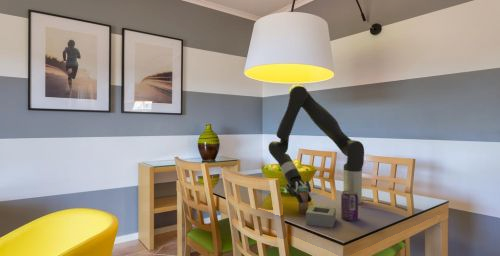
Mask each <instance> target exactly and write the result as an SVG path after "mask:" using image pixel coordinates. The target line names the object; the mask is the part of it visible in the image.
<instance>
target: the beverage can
mask: <svg viewBox="0 0 500 256" xmlns="http://www.w3.org/2000/svg"><path fill="white" fill-rule="evenodd" d="M340 196H341V197H340V201H341V203H340V216H341V218H342V219H344V220H346V221H351V222H353V221H356V220H358V219H359V204H358V196H357V192H355V191H349V190H346V191H344V190H342V193H341V195H340Z"/></svg>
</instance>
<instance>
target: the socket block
mask: <svg viewBox="0 0 500 256" xmlns="http://www.w3.org/2000/svg"><path fill="white" fill-rule="evenodd" d="M336 210H337V208H336V207H331V206H330V207H329V206H321V205H312V204H310V206H308V210H307V211H306V213H305V224H306V225H309V224H311V225H310V226H317V225H318V226H319V227H325V228H331V227H332V229H333V228H334V225H335V222H336V218H337V217H336V216H337V213H336ZM318 226H317V227H318Z"/></svg>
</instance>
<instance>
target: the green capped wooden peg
mask: <svg viewBox="0 0 500 256" xmlns="http://www.w3.org/2000/svg"><path fill="white" fill-rule="evenodd" d="M299 195H300V196H301V198H302V200H303V202H302V203H301V204H300V203H299V202H298V213H300V214H306V211H307V210H308V209H309V202H308V187H307V186H299Z"/></svg>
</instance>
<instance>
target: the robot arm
mask: <svg viewBox="0 0 500 256" xmlns="http://www.w3.org/2000/svg"><path fill="white" fill-rule="evenodd" d="M288 98H289V99H288V102H287V103H288V104H287V107H286V111H285V112H284V115H283V117H282V119H281V120H280V123H279V126H278V127H277V132H276V137H277V138H278V139H280V140H279V141H276V140H275V141H271V142H269V144H268V151H269V153H270V154H269V155H271V156H272V157H273V159H274V160H275V161H276V162H277V163H278V165H279V167H280V168H281V169H280V170H281V172H282V175H283V176H284V178H285V181H286V182H287V184H286V185H285V186H284V189H285V190H286V191H287V192H288V193H289V195H290V196H291V197H294V198H296V199H297V202H298V204H299V203H300V204H301V203H302V202H303V200H302V198H301V196H300V195H299V186H307V187H308V203H311V201H312V197H311V195H310V193H311V192H312V189H311V184H310V181H304V180H303V179H302V176H301V174H300V171H299V169H298V168H297V166H296V165H295V163H294V162H293V160H292V157H291V156H290V155H289V154H288V153H287V152H288V149H289V144H290V143H289V142H290V135H291V134H292V130H293V127H294V124H295V122H296V119H297V118H298V115H299V112H300V110H301V108H302V109H303V110H304V111H305V113H307V115H308V117H309V118H310V119H311V120H312V121H313V123H314V125H316V126H317V128H319V129H320V131H322V132H323V133H324V134H325V135H326V136H327V138H329V139H330V140H331V141H332V142H333V143H334V144H335V146H336V147H337V148H338V149H339V150H340V151H341V153H342V154H343V155H345V156H346V157H347V159H346V163H344V164H343V191H346V190H349V191H355V192H357V196H358V205H361V204H362V200H363V196H362V195H363V191H362V190H363V167H364V163H365V162H364V161H365V147H364V144H362V143H363V142H361V141H359V140H353V139H351V138H349V137H348V136H347V135H346V133H344V132H343V130H342V129H341V127H340V124H339V123H338V121H337V119H336V118H335V117H334V116H333V115H332V114H331V113H330V112H329V111H328V110H327V109H326V108H325V107H323V106H322V105H321V104H320V103H319V102H317V101H316V100H315V99H314V97H312V95H311V94H310V93H309V91H308V90H307V88H306V87H305V86H304V85H302V84H300V83H299V84H298V83H296V84H292V85H291V86H290V88H289V90H288Z"/></svg>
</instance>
